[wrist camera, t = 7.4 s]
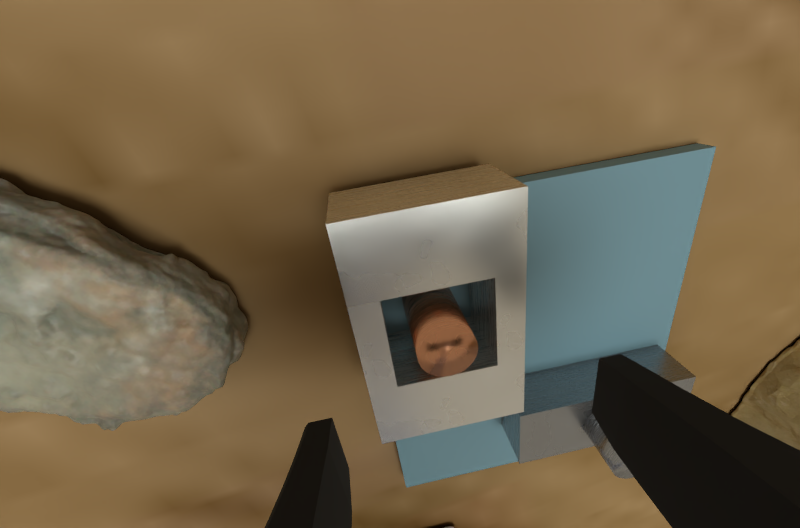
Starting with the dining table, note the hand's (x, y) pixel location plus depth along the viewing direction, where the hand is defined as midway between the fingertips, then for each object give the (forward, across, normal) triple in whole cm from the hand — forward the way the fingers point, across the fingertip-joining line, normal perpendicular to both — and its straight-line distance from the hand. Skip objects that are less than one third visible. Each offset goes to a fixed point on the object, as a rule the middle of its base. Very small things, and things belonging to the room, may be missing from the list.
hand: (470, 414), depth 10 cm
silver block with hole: (+6, 0, 0) cm, 6 cm away
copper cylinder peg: (+6, 0, 0) cm, 7 cm away
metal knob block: (+7, -7, +7) cm, 12 cm away
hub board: (+7, -4, +4) cm, 9 cm away
